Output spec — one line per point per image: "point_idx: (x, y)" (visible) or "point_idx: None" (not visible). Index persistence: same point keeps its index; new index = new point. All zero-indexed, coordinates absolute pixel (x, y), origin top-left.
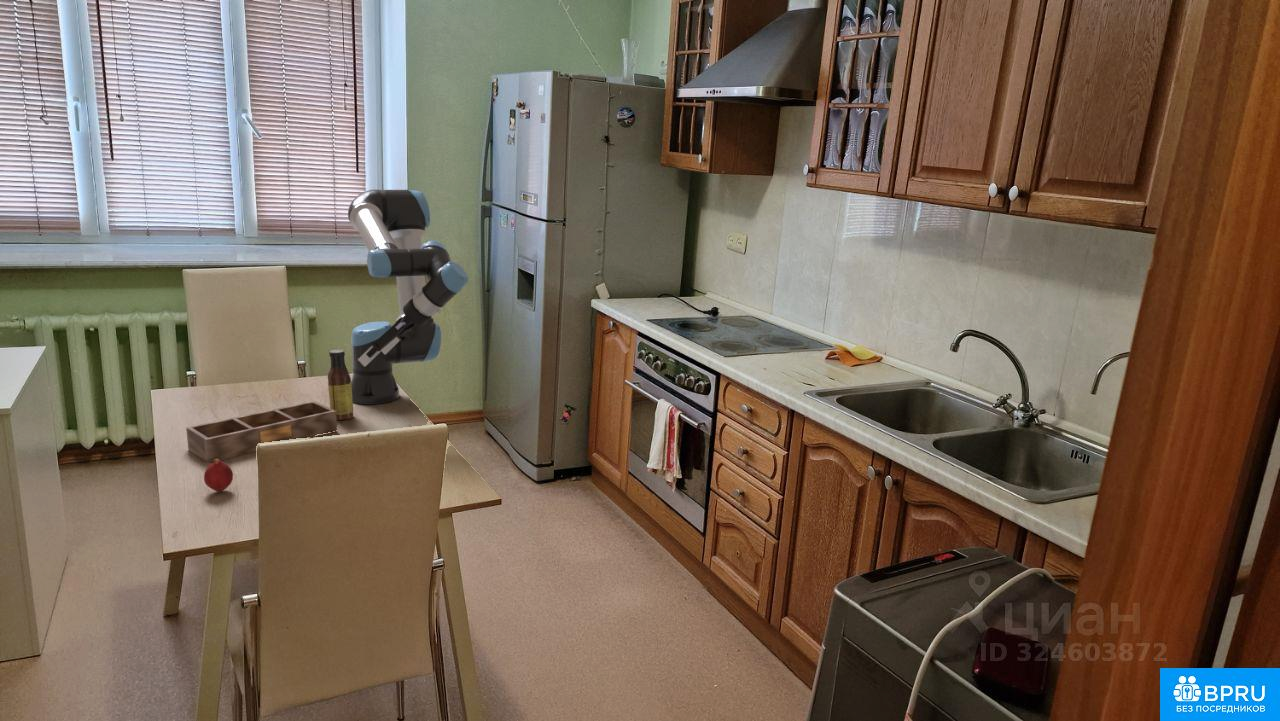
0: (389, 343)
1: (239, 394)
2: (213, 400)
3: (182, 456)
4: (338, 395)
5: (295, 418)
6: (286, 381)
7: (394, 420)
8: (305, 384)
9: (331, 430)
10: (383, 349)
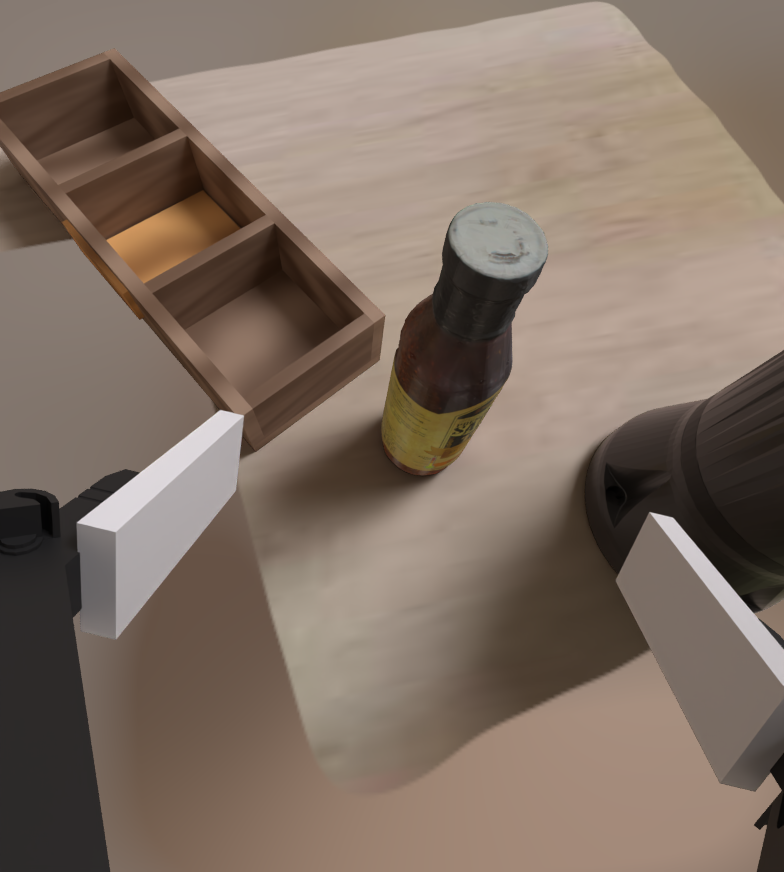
0: (684, 628)
1: (616, 132)
2: (552, 93)
3: None
4: (389, 391)
5: (318, 297)
6: (772, 211)
7: (392, 658)
8: (761, 263)
9: None
10: (642, 564)
